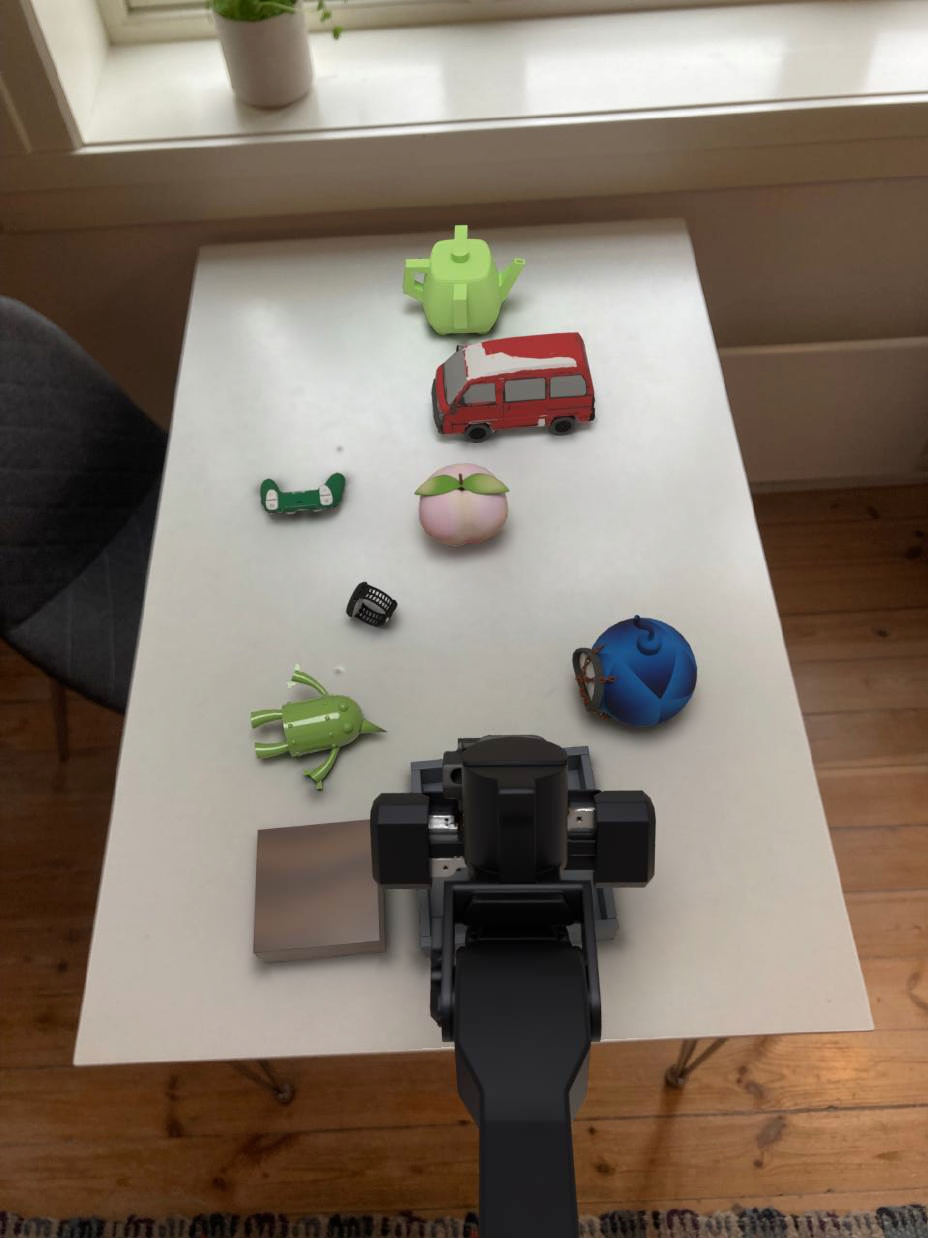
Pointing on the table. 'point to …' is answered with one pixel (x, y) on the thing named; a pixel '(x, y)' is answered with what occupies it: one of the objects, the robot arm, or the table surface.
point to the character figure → (314, 725)
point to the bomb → (637, 672)
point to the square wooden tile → (316, 893)
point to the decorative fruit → (462, 504)
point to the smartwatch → (358, 602)
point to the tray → (431, 900)
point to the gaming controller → (302, 496)
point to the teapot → (460, 284)
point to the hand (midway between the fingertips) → (509, 789)
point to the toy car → (514, 386)
